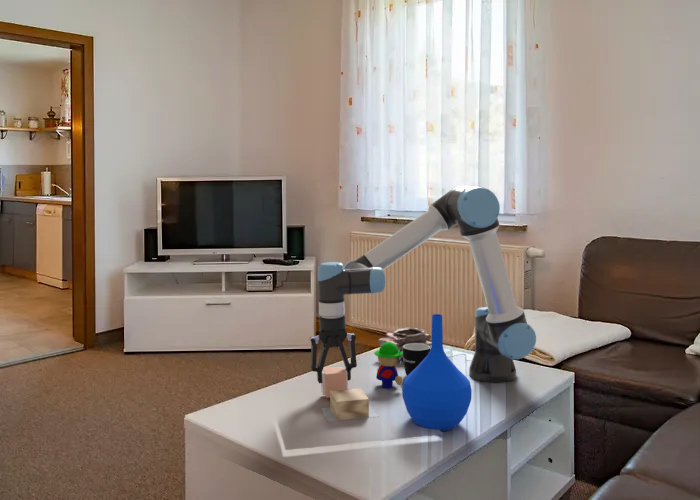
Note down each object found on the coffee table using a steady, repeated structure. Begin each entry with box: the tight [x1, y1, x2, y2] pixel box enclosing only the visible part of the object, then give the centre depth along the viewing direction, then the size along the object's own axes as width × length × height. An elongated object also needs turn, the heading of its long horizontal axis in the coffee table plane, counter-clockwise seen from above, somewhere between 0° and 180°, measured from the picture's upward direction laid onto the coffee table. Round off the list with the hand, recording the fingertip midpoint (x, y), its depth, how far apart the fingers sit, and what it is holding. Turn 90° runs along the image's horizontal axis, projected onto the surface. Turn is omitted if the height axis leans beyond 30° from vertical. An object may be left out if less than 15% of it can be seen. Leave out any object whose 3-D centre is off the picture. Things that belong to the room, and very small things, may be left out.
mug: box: [402, 343, 431, 377], centre depth 213 cm, size 12×9×10 cm
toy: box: [373, 342, 404, 390], centre depth 201 cm, size 11×9×15 cm
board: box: [320, 403, 379, 422], centre depth 180 cm, size 14×10×1 cm
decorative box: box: [377, 326, 431, 360], centre depth 235 cm, size 13×20×10 cm, turn 118°
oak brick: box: [329, 388, 370, 421], centre depth 179 cm, size 9×9×5 cm
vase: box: [401, 313, 473, 432], centre depth 172 cm, size 18×18×30 cm
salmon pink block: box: [323, 366, 347, 399], centre depth 191 cm, size 6×6×7 cm
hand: (334, 391), depth 192 cm, fingers closed on salmon pink block, 6 cm apart
